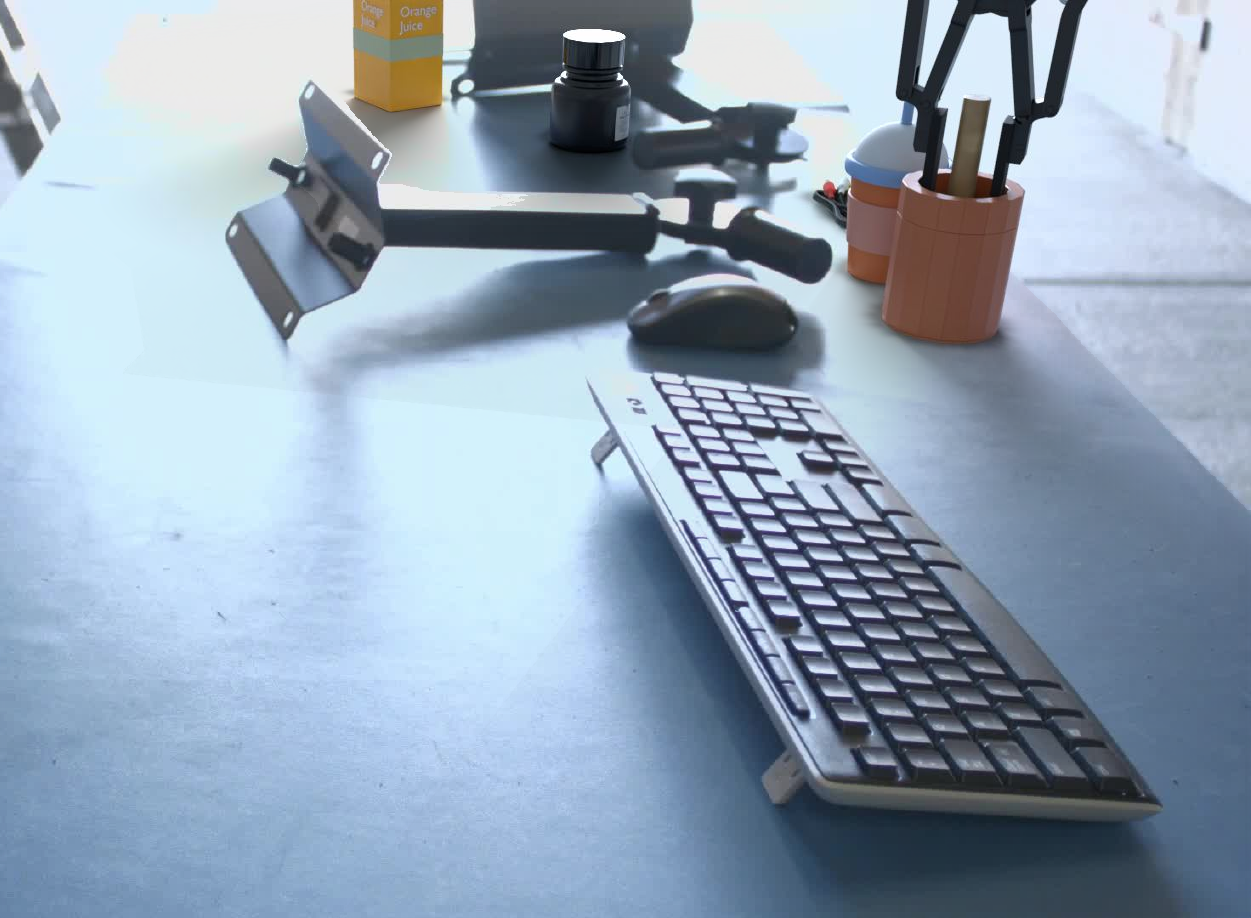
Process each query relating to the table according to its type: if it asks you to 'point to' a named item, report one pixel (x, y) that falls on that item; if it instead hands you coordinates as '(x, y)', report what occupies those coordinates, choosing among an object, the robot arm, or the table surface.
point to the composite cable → (835, 199)
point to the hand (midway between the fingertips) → (960, 198)
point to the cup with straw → (880, 193)
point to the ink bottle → (590, 93)
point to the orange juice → (398, 53)
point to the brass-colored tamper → (969, 145)
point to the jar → (950, 260)
